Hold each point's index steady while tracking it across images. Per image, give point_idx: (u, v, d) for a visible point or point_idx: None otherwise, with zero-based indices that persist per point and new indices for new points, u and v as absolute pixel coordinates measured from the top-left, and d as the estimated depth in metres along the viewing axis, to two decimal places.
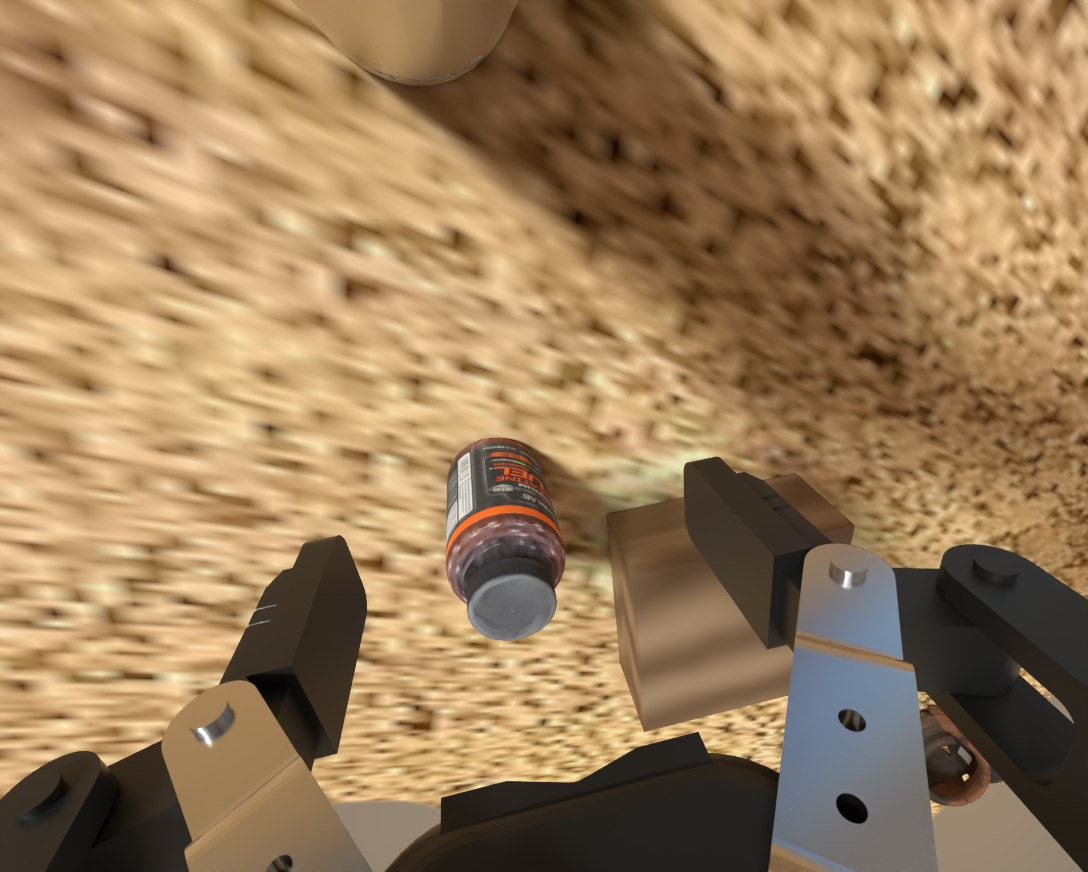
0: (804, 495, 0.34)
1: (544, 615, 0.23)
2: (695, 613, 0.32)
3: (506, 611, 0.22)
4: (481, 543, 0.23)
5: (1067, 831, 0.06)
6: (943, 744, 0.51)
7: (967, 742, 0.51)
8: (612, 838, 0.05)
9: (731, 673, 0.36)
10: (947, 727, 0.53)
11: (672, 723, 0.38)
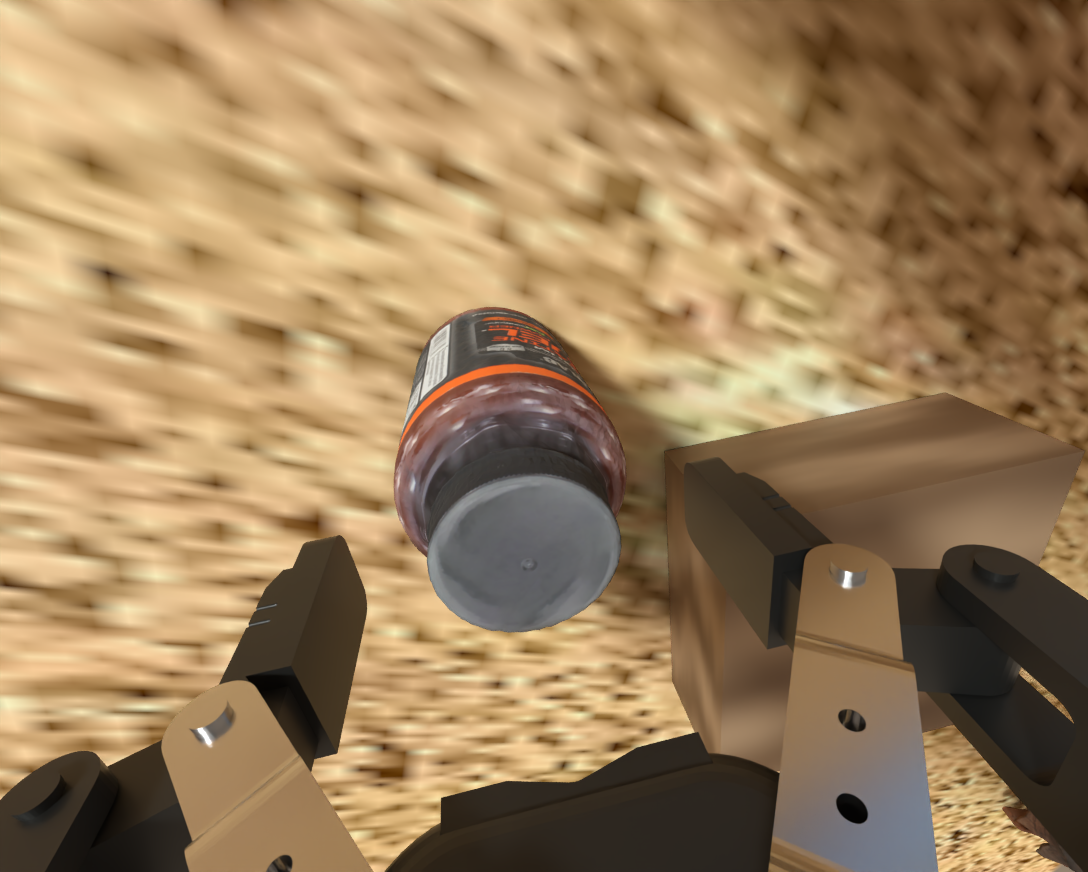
0: (974, 417, 0.22)
1: (594, 576, 0.11)
2: None
3: (512, 565, 0.10)
4: (460, 425, 0.11)
5: (1067, 832, 0.06)
6: None
7: None
8: (612, 838, 0.05)
9: None
10: None
11: None
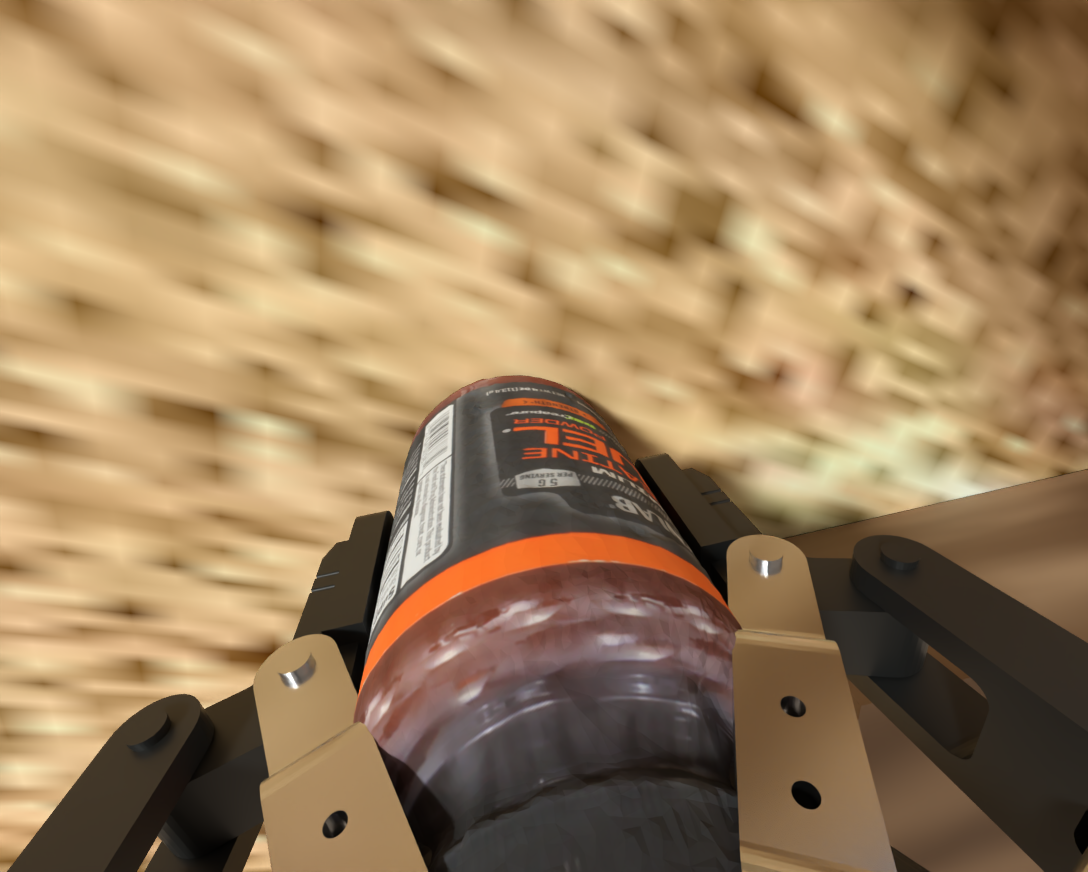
0: None
1: None
2: None
3: None
4: (476, 693, 0.05)
5: (989, 799, 0.07)
6: None
7: None
8: None
9: None
10: None
11: None
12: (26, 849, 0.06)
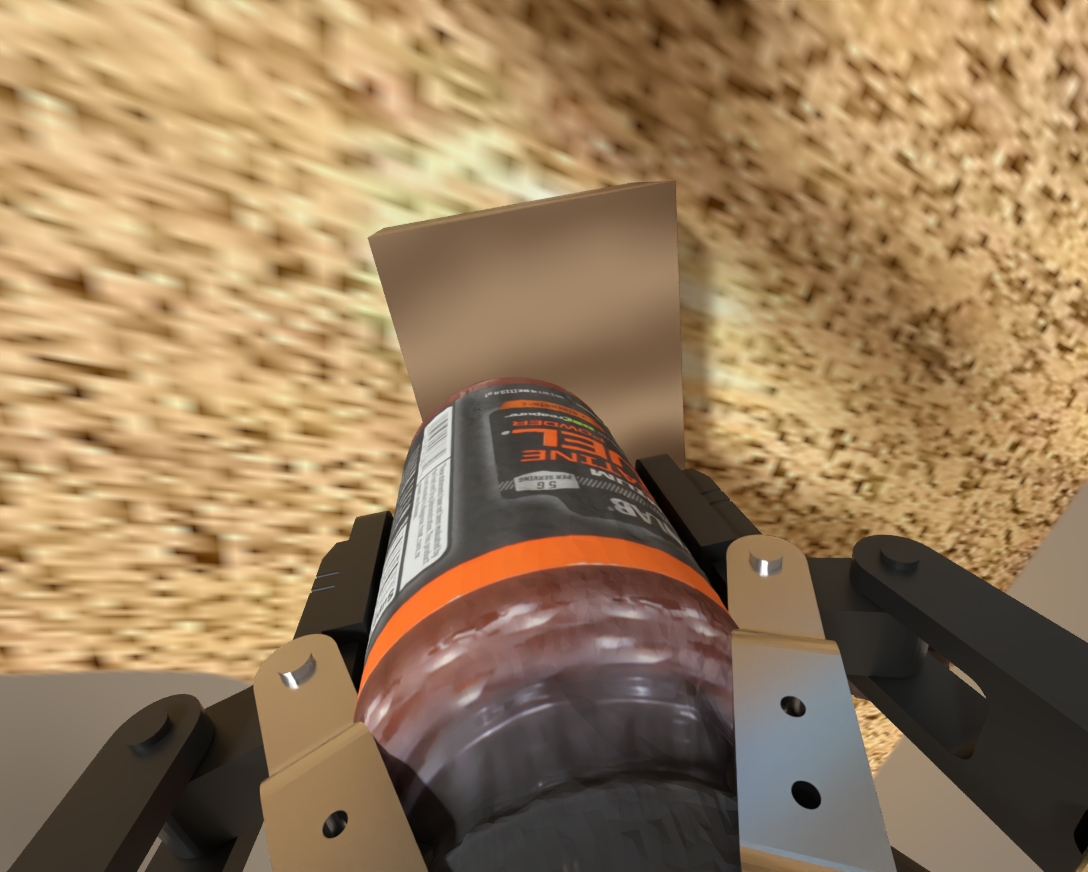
0: (630, 185, 0.26)
1: None
2: (477, 322, 0.24)
3: None
4: (474, 696, 0.05)
5: (989, 799, 0.07)
6: None
7: None
8: None
9: None
10: None
11: None
12: (26, 849, 0.06)
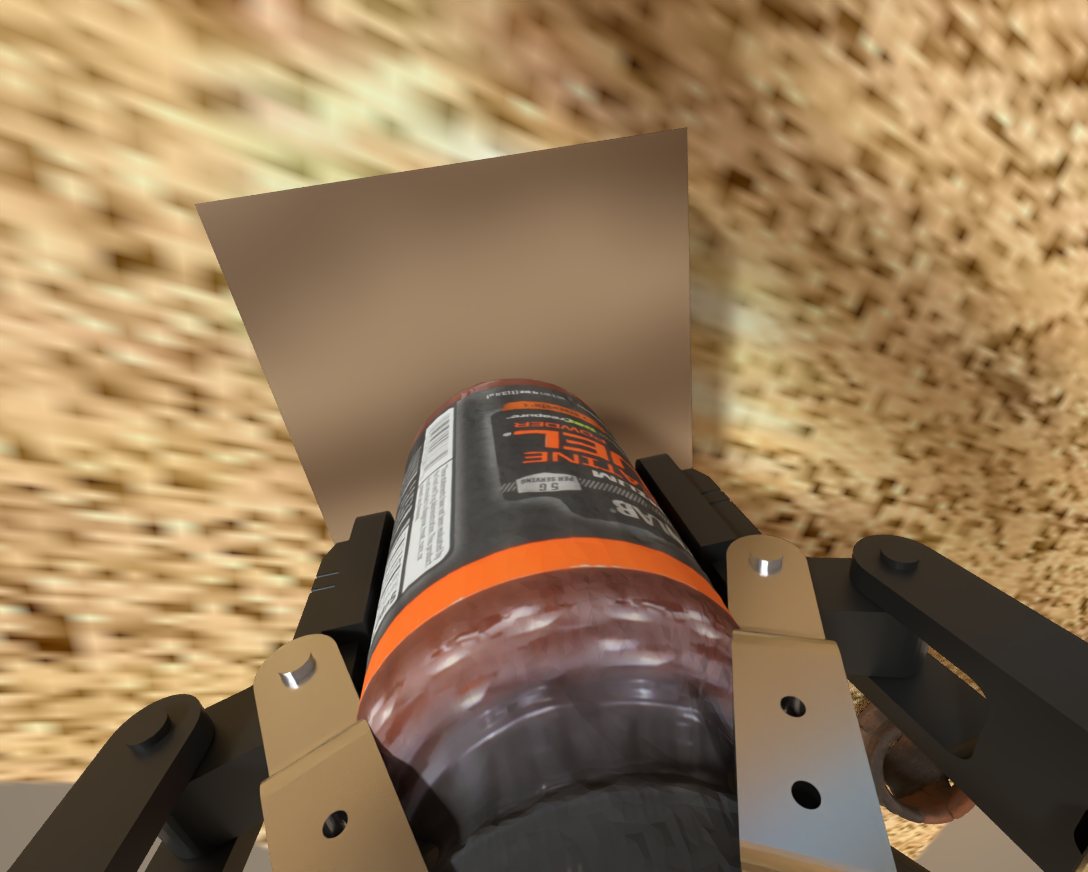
0: None
1: None
2: (384, 340, 0.16)
3: None
4: (478, 699, 0.05)
5: (990, 800, 0.07)
6: None
7: None
8: None
9: None
10: None
11: None
12: (26, 849, 0.06)
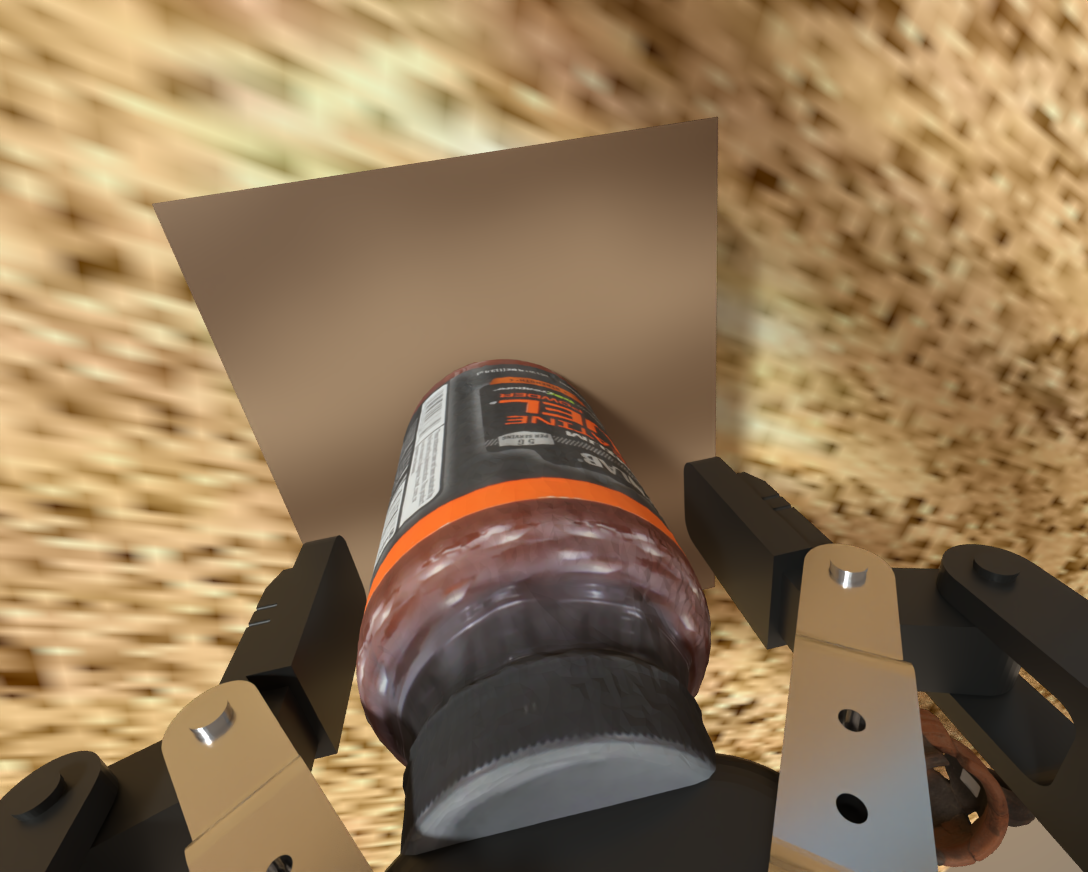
0: None
1: None
2: (373, 357, 0.14)
3: None
4: (460, 597, 0.07)
5: (1067, 832, 0.06)
6: (929, 767, 0.33)
7: (967, 762, 0.33)
8: (612, 838, 0.05)
9: None
10: (935, 739, 0.34)
11: None
12: None
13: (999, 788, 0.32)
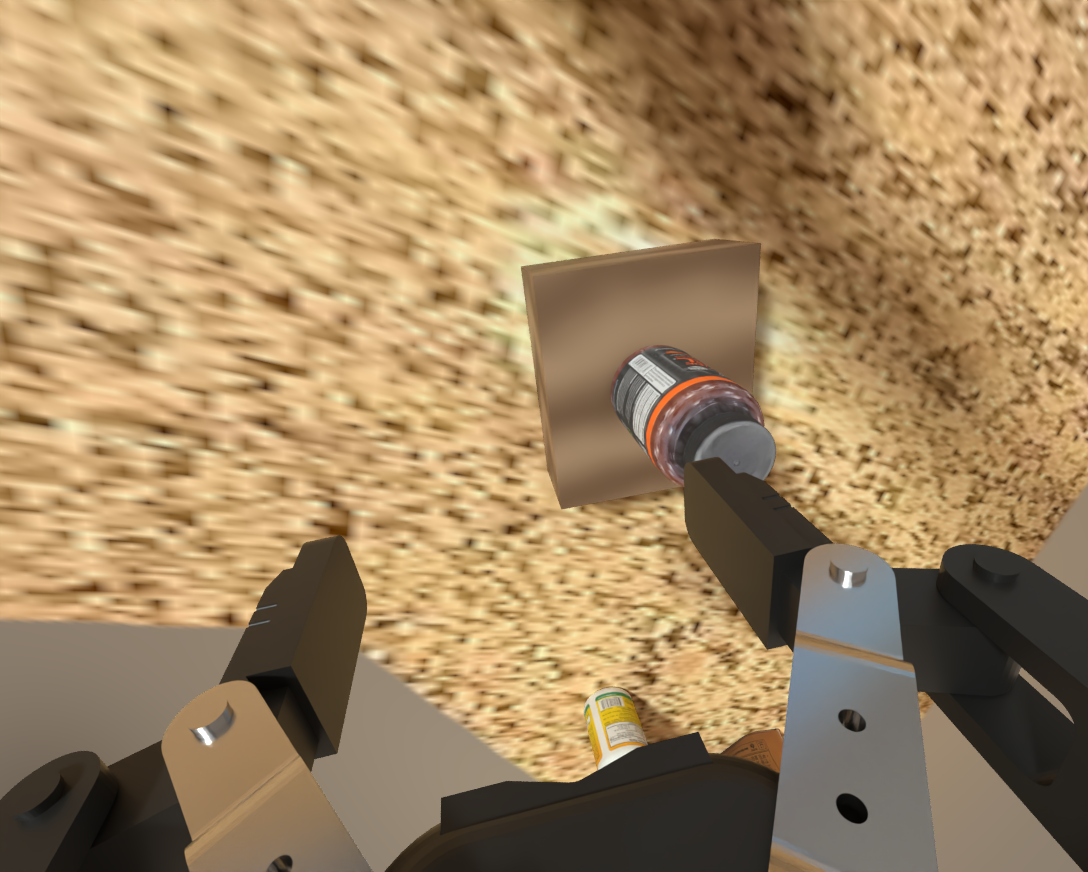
0: (718, 242, 0.34)
1: (762, 471, 0.23)
2: (603, 342, 0.31)
3: (730, 462, 0.23)
4: (698, 403, 0.24)
5: (1067, 832, 0.06)
6: None
7: None
8: (612, 838, 0.05)
9: None
10: None
11: (591, 501, 0.36)
12: None
13: None
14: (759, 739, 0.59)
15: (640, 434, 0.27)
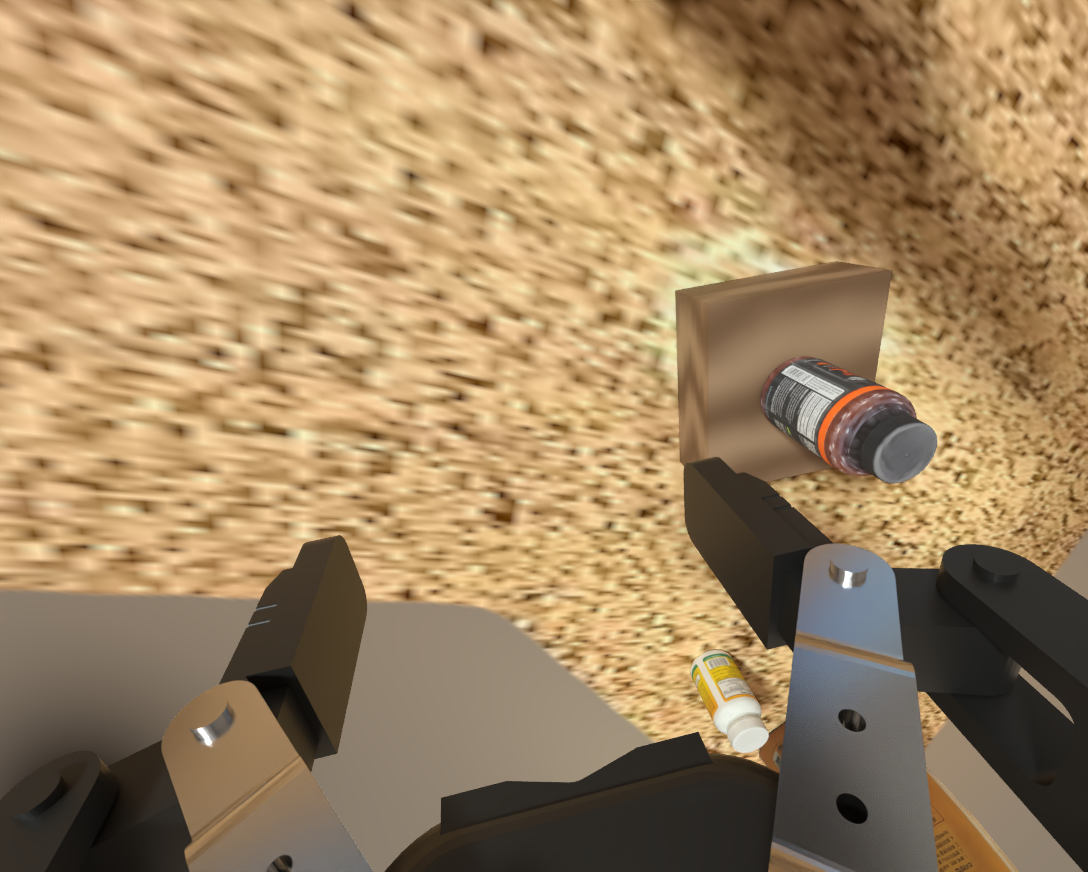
0: (845, 266, 0.40)
1: (925, 460, 0.30)
2: (757, 355, 0.38)
3: (902, 455, 0.29)
4: (870, 408, 0.30)
5: (1067, 831, 0.06)
6: None
7: None
8: (612, 838, 0.05)
9: None
10: None
11: None
12: None
13: None
14: None
15: (809, 432, 0.34)
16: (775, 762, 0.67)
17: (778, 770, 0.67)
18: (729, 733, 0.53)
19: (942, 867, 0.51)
